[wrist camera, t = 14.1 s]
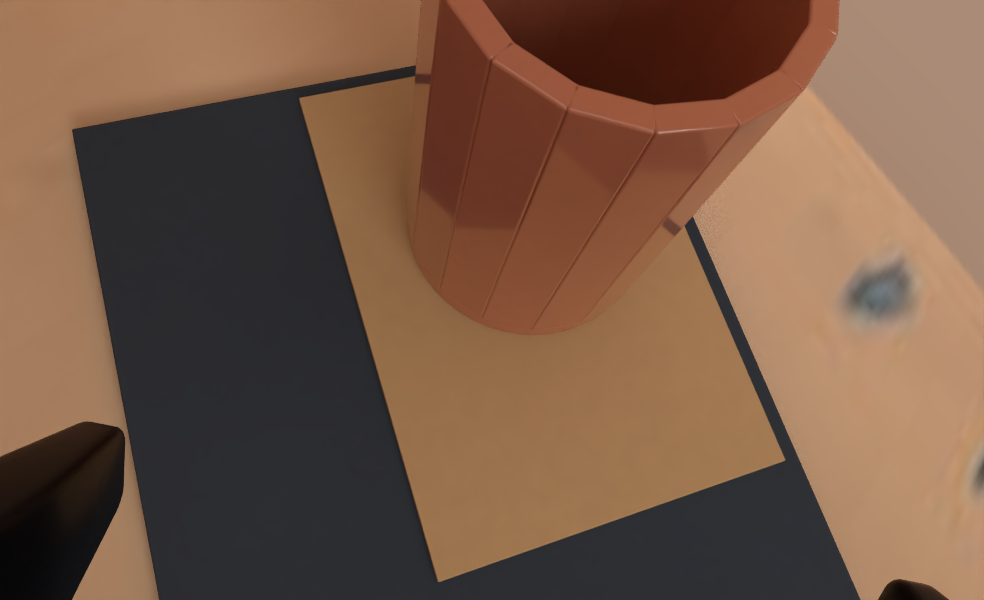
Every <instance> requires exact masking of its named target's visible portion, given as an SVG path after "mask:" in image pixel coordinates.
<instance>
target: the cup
mask: <svg viewBox="0 0 984 600" xmlns="http://www.w3.org/2000/svg"><path fill="white" fill-rule="evenodd" d="M838 19H839V0H421V8H420V21H419V34H418V47H417V59H416V72H415V85H414V98H413V111H412V123H411V136H410V149H409V162H408V174H407V187H406V200H405V206H406V212H407V218H406V221H407V231H408V237H409V242H410V246H411V250H412V252H413V255H414V257H415V260H416V262H417V264H418V266H419V268H420V270H421V271H422V273H423V275H424V277H425V278H426V279H427V281H428V282H429V283H430V285H431V286H432V287H433V289H434V290H435V291H436V292H437V293H438V294H439V295H440V296H441V297H442V298H443V299H444V300H445V301H446V302H447V303H448V304H450V305H451V306H452V307H453V308H455V309H456V310H457V311H459V312H460V313H462V314H464V315H465V316H467V317H468V318H470V319H472V320H474V321H476V322H478V323H480V324H483V325H485V326H487V327H490V328H494V329H497V330H500V331H504V332H509V333H515V334H524V335H542V334H553V333H557V332H562V331H567V330H569V329H572V328H575V327H578V326H581V325H583V324H585V323H586V322H588V321H590V320H592V319H594V318H596V317H597V316H598V315H600V314H601V313H603V312H604V311H605V310H607V309H608V308H609V307H610V306H611V305H612V304H613V303H615V302H616V301H618V300H619V299H620V298H621V297H622V296H623V295H624V294H625V293H626V291H627V290H628V289H629V288H630V287H631V286H632V285H633V283H634V282H635V281H636V280H637V279H638V278H639V277H640V276H641V274H642V273H643V272H644V271H645V270H646V269H647V268H648V266H649V265H650V264H651V263H652V262H653V261H654V260H655V259H656V257H657V256H658V255H659V254H660V253H661V252H662V251H663V249H664V248H665V247H666V246H667V245H668V244H669V243H670V242H671V240H672V239H673V238H674V237H675V236H676V235H677V234H678V232H679V231H680V230H681V229H682V228H683V227H684V226H685V224H686V223H687V222H688V221H689V220H690V219H691V218H692V217H693V215H694V214H695V213H696V212H697V211H698V210H699V209H700V207H701V206H702V205H703V204H704V203H705V202H706V201H707V200H708V198H709V197H710V196H711V195H712V194H713V193H714V192H715V190H716V189H717V188H718V187H719V186H720V185H721V184H722V183H723V181H724V180H725V179H726V178H727V177H728V176H729V175H730V173H731V172H732V171H733V170H734V169H735V168H736V167H737V166H738V164H739V163H740V162H741V161H742V160H743V159H744V158H745V156H746V155H747V154H748V153H749V152H750V151H751V150H752V149H753V147H754V146H755V145H756V144H757V143H758V142H759V141H760V139H761V138H762V137H763V136H764V135H765V134H766V133H767V131H768V130H769V129H770V128H771V127H772V126H773V125H774V124H775V122H776V121H777V120H778V119H779V118H780V117H781V116H782V114H783V113H784V112H785V111H786V110H787V109H788V108H789V107H790V105H791V104H792V103H793V102H794V101H795V100H796V99H797V97H798V96H799V95H800V94H801V93H802V92H803V91H804V89H805V88H806V86H807V85H808V83H809V82H810V80H811V78H812V77H813V75H814V73H815V72H816V70H817V69H818V67H819V66H820V64H821V62H822V61H823V59H824V58H825V56H826V54H827V53H828V51H829V50H830V48H831V47H832V45H833V43H834V42H835V40H836V35H837V34H838Z"/></svg>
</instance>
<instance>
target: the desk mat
mask: <svg viewBox="0 0 984 600" xmlns="http://www.w3.org/2000/svg"><path fill="white" fill-rule="evenodd" d="M415 72H416V66H411V67H405V68H400V69H395V70H389V71H384V72H379V73H373V74H368V75H362V76H357V77H352V78H346V79H341V80H336V81H330V82H325V83H319V84H314V85H309V86H303V87H298V88H292V89H287V90H282V91H276V92H271V93H266V94H260V95H255V96H249V97H244V98H239V99H233V100H228V101H223V102H217V103H212V104H206V105H201V106H196V107H190V108H185V109H179V110H174V111H169V112H163V113H158V114H153V115H147V116H142V117H136V118H131V119H126V120H120V121H115V122H110V123H104V124H99V125H93V126H88V127H83V128H77V129H73V130H72V132H73V137H74V143H75V148H76V154H77V159H78V164H79V170H80V175H81V180H82V186H83V191H84V197H85V202H86V207H87V213H88V218H89V223H90V229H91V234H92V240H93V245H94V250H95V256H96V261H97V266H98V272H99V277H100V283H101V288H102V293H103V299H104V304H105V310H106V315H107V320H108V326H109V331H110V336H111V342H112V347H113V353H114V358H115V363H116V369H117V374H118V379H119V385H120V390H121V396H122V401H123V406H124V412H125V417H126V422H127V428H128V433H129V439H130V444H131V449H132V455H133V460H134V465H135V471H136V476H137V482H138V487H139V492H140V498H141V503H142V508H143V514H144V519H145V525H146V530H147V535H148V541H149V546H150V552H151V557H152V562H153V568H154V573H155V578H156V584H157V589H158V595H159V600H860V598H859V596H858V593H857V591H856V589H855V586H854V584H853V582H852V580H851V577H850V575H849V573H848V570H847V568H846V566H845V564H844V561H843V559H842V557H841V554H840V552H839V550H838V548H837V545H836V543H835V541H834V538H833V536H832V534H831V532H830V529H829V527H828V525H827V522H826V520H825V518H824V516H823V513H822V511H821V509H820V506H819V504H818V502H817V500H816V497H815V495H814V493H813V490H812V488H811V486H810V484H809V481H808V479H807V477H806V474H805V472H804V470H803V468H802V465H801V463H800V461H799V458H798V456H797V454H796V452H795V449H794V447H793V445H792V442H791V440H790V438H789V435H788V433H787V431H786V429H785V426H784V424H783V422H782V419H781V417H780V415H779V413H778V410H777V408H776V406H775V403H774V401H773V399H772V397H771V394H770V392H769V390H768V387H767V385H766V383H765V381H764V378H763V376H762V374H761V371H760V369H759V367H758V365H757V362H756V360H755V358H754V355H753V353H752V351H751V349H750V346H749V344H748V342H747V339H746V337H745V335H744V333H743V330H742V328H741V326H740V323H739V321H738V319H737V317H736V314H735V312H734V310H733V307H732V305H731V303H730V301H729V298H728V296H727V294H726V291H725V289H724V287H723V284H722V282H721V280H720V278H719V275H718V273H717V271H716V268H715V266H714V264H713V262H712V259H711V257H710V255H709V252H708V250H707V248H706V246H705V243H704V241H703V239H702V236H701V234H700V232H699V230H698V227H697V225H696V223H695V220H694V218H693V217H692V218H691V219H690V220H689V221H688V222H687V223H686V224H685V226H684V227H683V228H682V229H681V230H680V231H679V232H678V234H677V235H676V236H675V237H674V238H673V239H672V240H671V242H670V243H669V244H668V245H667V246H666V247H665V248H664V249H663V251H662V252H661V253H660V254H659V255H658V256H657V257H656V259H655V260H654V261H653V262H652V263H651V264H650V265H649V266H648V268H647V269H646V270H645V271H644V272H643V273H642V274H641V276H640V277H639V278H638V279H637V280H636V281H635V282H634V283H633V285H632V286H631V287H630V288H629V289H628V290H627V291H626V293H625V294H624V295H623V296H622V297H621V298H620V299H619V300H618V301H616V302H615V303H613V304H612V305H611V306H610V307H609V308H608V309H607V310H605V311H604V312H603V313H601V314H600V315H598V316H597V317H596V318H594V319H592V320H590V321H588V322H586V323H585V324H583V325H581V326H578V327H575V328H572V329H569V330H567V331H562V332H557V333H553V334H542V335H524V334H515V333H509V332H504V331H500V330H497V329H494V328H490V327H487V326H485V325H483V324H480V323H478V322H476V321H474V320H472V319H470V318H468V317H467V316H465V315H464V314H462V313H460V312H459V311H457V310H456V309H455V308H453V307H452V306H451V305H450V304H448V303H447V302H446V301H445V300H444V299H443V298H442V297H441V296H440V295H439V294H438V293H437V292H436V291H435V290H434V289H433V287H432V286H431V285H430V283H429V282H428V281H427V279H426V278H425V277H424V275H423V273H422V271H421V270H420V268H419V266H418V264H417V262H416V260H415V257H414V255H413V252H412V250H411V246H410V242H409V237H408V231H407V221H406V218H407V212H406V206H405V200H406V187H407V174H408V162H409V149H410V136H411V123H412V111H413V98H414V85H415Z"/></svg>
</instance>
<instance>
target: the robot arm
mask: <svg viewBox="0 0 984 600" xmlns="http://www.w3.org/2000/svg"><path fill="white" fill-rule="evenodd" d="M124 458H125V437H124V433H123V431H122V430H121V429H120V428H118V427H114V426H109V425H104V424H99V423H94V422H82V423H79V424H76V425H74V426H71V427H69V428H66V429H64V430H62V431H59V432H57V433H55V434H52V435H50V436H48V437H45V438H43V439H41V440H38V441H36V442H34V443H31V444H29V445H27V446H24V447H22V448H20V449H17V450H15V451H13V452H10V453H8V454H6V455H3V456H1V457H0V600H72V598H73V596H74V594H75V592H76V590H77V588H78V586H79V584H80V582H81V580H82V578H83V576H84V574H85V572H86V571H87V569H88V567H89V565H90V563H91V561H92V559H93V557H94V555H95V553H96V551H97V549H98V547H99V545H100V543H101V541H102V539H103V537H104V535H105V533H106V531H107V529H108V527H109V525H110V523H111V521H112V519H113V517H114V515H115V513H116V511H117V509H118V507H119V504H120V501H121V498H122V494H123V487H124ZM878 600H949V599H947V598H946V597H945V596H943V595H942V594H941V593H940V592H938V591H937V590H936V589H934V588H933V587H931V586H929V585H926V584H922V583H917V582H912V581H907V580H902V579H897V580H893V581H891V582H890V583H889V584H887V586H886V587H885V589H884V590H883V592H882V594H881V595H880V597H879V599H878Z"/></svg>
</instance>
